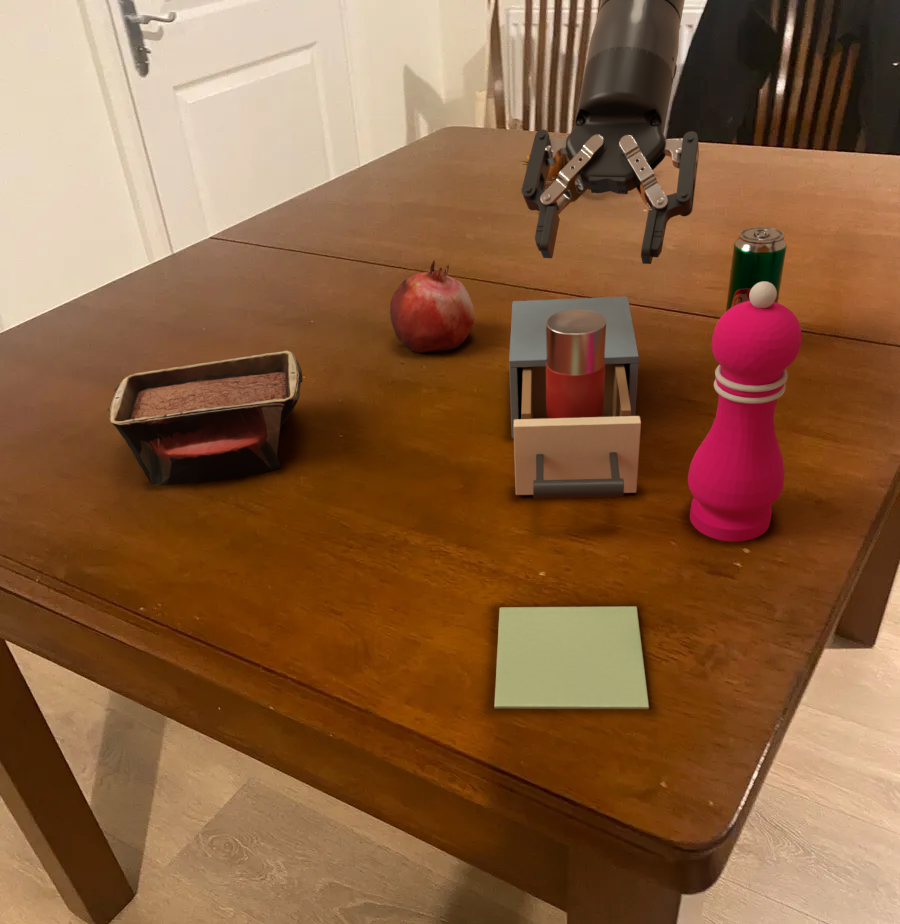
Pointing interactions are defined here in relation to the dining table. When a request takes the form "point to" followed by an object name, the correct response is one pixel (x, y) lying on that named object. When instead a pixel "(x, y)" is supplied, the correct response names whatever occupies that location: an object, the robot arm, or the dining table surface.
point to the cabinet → (532, 340)
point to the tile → (570, 658)
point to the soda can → (756, 262)
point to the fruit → (431, 311)
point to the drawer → (576, 443)
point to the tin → (575, 364)
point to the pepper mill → (744, 419)
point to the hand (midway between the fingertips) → (595, 257)
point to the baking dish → (207, 417)
